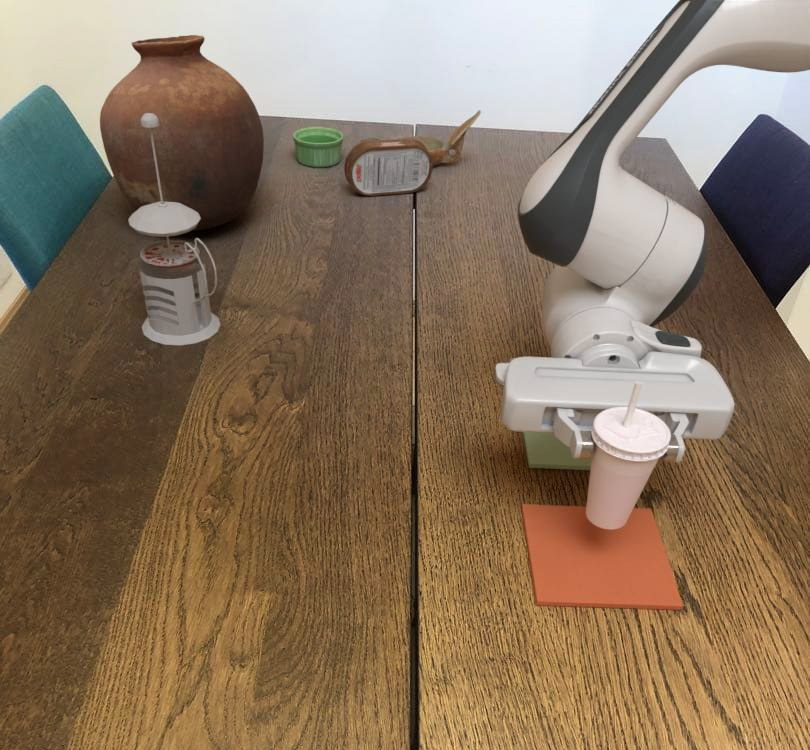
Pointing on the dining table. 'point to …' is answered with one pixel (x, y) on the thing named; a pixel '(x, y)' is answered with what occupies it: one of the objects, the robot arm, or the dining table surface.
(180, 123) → the pottery
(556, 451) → the sage mat
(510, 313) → the dining table surface
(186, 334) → the french press
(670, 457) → the robot arm
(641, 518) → the terracotta mat
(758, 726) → the dining table surface
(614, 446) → the smoothie
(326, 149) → the ramekin
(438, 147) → the oil lamp
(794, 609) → the dining table surface
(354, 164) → the tin
